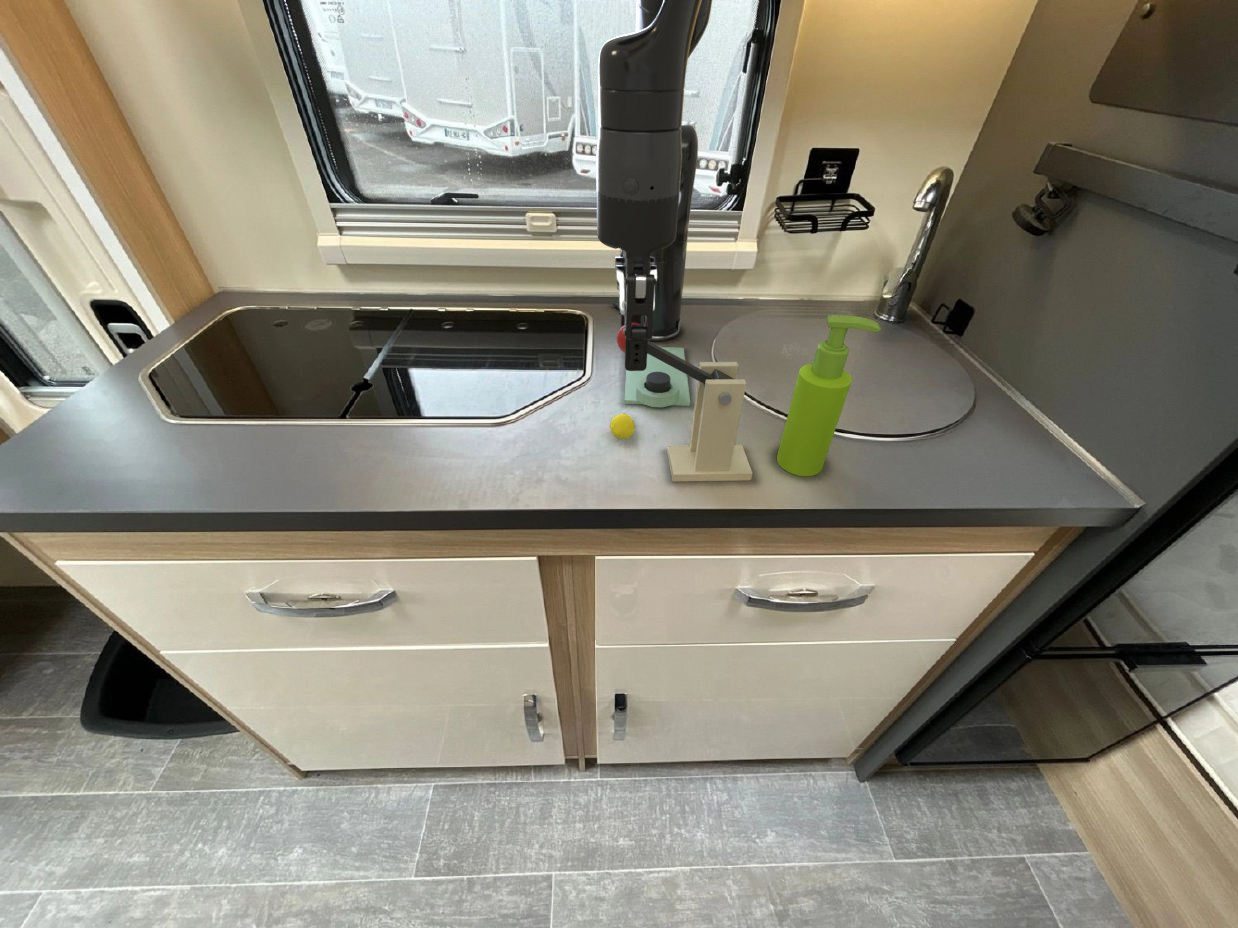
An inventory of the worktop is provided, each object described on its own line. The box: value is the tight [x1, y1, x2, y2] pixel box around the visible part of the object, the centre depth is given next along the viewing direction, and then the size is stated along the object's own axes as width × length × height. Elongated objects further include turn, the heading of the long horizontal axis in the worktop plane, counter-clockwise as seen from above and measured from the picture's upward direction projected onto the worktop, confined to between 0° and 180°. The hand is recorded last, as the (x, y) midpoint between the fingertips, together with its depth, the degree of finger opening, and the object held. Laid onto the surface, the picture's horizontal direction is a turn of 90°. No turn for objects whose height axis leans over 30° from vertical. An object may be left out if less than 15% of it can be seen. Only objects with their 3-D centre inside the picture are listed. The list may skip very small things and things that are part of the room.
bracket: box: [666, 361, 753, 483], centre depth 64 cm, size 10×6×14 cm, turn 92°
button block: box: [623, 346, 691, 408], centre depth 85 cm, size 20×10×2 cm, turn 178°
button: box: [646, 372, 671, 393], centre depth 79 cm, size 4×4×2 cm
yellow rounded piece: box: [609, 413, 636, 440], centre depth 73 cm, size 3×6×4 cm, turn 175°
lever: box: [616, 323, 733, 388], centre depth 59 cm, size 15×3×3 cm, turn 92°
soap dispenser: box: [776, 314, 882, 477], centre depth 63 cm, size 6×7×20 cm
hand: (632, 350), depth 57 cm, fingers open, 8 cm apart
